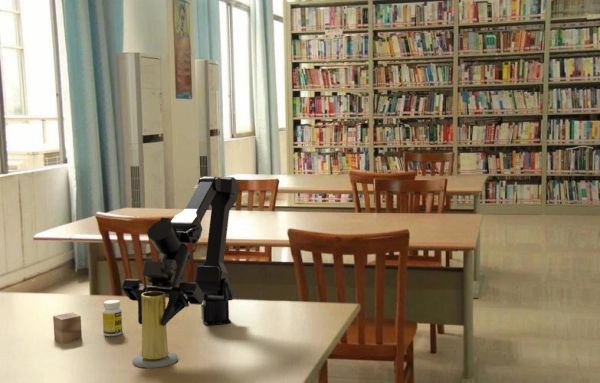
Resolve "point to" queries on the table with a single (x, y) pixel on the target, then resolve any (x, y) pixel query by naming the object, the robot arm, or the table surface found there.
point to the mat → (155, 361)
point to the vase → (153, 326)
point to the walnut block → (67, 327)
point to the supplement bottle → (112, 318)
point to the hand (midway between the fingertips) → (151, 324)
